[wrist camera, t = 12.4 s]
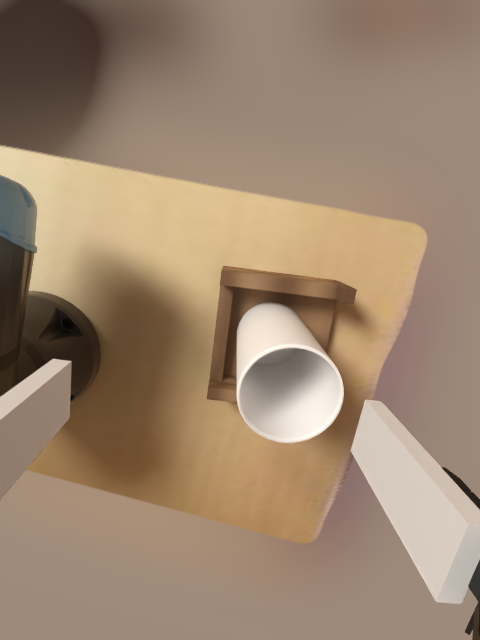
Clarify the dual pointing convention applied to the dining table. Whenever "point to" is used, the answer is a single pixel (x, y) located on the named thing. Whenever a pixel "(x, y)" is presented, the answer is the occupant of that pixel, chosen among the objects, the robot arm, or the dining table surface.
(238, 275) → the tray
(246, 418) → the cup
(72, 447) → the dining table surface
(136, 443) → the dining table surface
